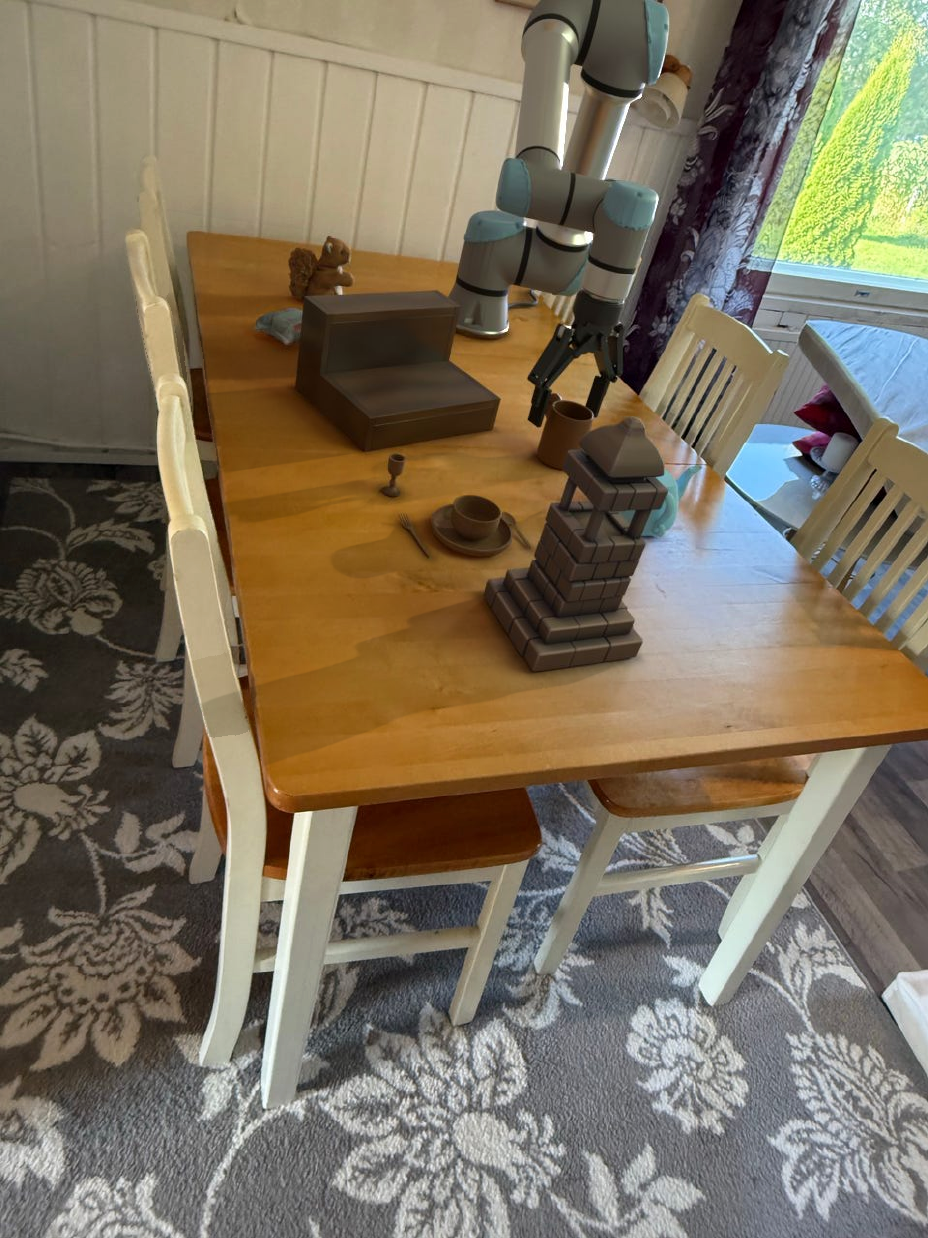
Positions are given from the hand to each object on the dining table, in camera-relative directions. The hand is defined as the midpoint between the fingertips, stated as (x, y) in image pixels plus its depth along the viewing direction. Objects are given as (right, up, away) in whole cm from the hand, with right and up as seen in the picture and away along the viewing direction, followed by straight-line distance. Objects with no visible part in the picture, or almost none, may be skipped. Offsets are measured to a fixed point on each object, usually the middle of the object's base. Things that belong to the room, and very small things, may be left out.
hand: (563, 418), depth 144 cm
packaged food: (-49, +19, +17) cm, 56 cm away
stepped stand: (-29, +3, +4) cm, 29 cm away
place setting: (-18, -20, -19) cm, 33 cm away
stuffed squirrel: (-47, +32, +34) cm, 67 cm away
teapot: (+10, -19, -8) cm, 23 cm away
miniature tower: (-4, -35, -33) cm, 48 cm away
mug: (-1, -5, +4) cm, 7 cm away
